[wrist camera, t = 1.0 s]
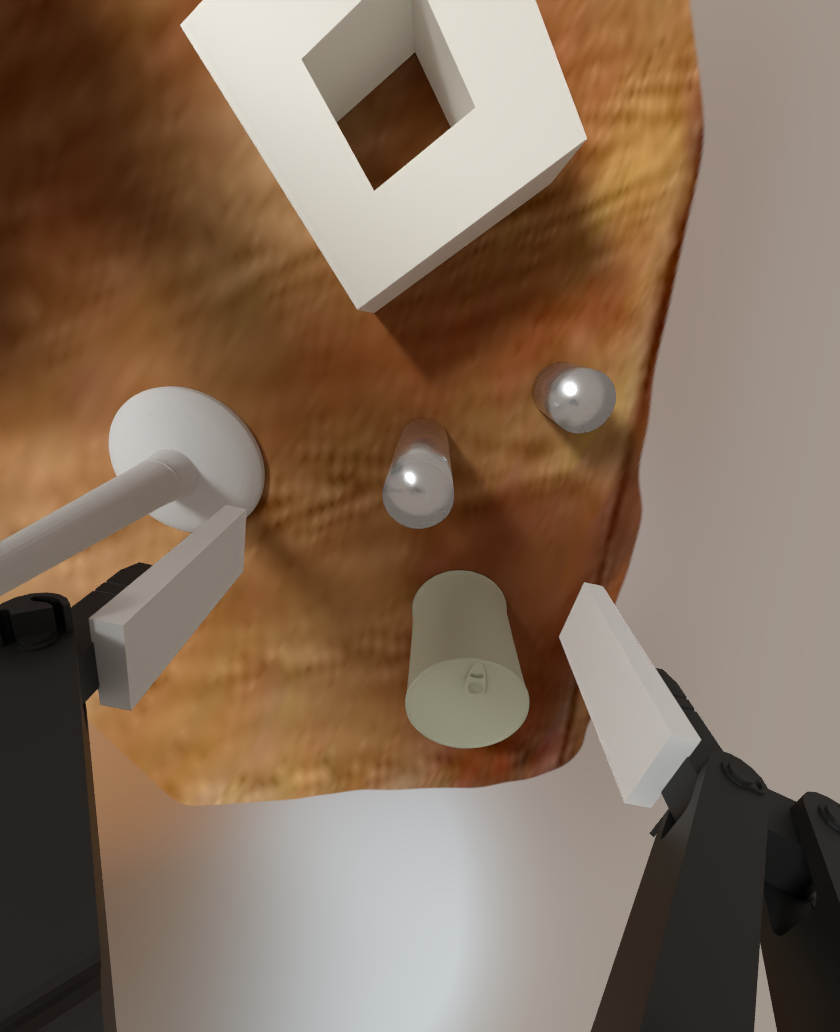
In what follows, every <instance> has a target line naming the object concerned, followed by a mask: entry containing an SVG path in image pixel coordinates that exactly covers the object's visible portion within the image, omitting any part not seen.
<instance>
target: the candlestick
mask: <svg viewBox="0 0 840 1032" xmlns="http://www.w3.org/2000/svg"><path fill="white" fill-rule="evenodd" d="M109 453H110V458H111V462H112V466H113V468H114V471H115V474H116V476H117V477H115V478H113V479H112V480H110V481H108V482H106V483H104V484H103V485H101V486H99V487H97V488H95V489H94V490H92V491H90V492H88V493H86V494H85V495H83V496H81V497H79V498H78V499H76V500H74V501H72V502H70V503H69V504H67V505H65V506H63V507H61V508H60V509H58V510H56V511H54V512H52V513H51V514H49V515H47V516H45V517H44V518H42V519H40V520H38V521H36V522H35V523H33V524H31V525H29V526H27V527H26V528H24V529H22V530H20V531H18V532H17V533H15V534H13V535H11V536H9V537H8V538H6V539H4V540H2V541H1V542H0V596H1V595H3V594H5V593H7V592H9V591H10V590H12V589H14V588H16V587H18V586H19V585H21V584H23V583H25V582H27V581H28V580H30V579H32V578H34V577H36V576H37V575H39V574H41V573H43V572H45V571H47V570H48V569H50V568H52V567H54V566H56V565H57V564H59V563H61V562H63V561H65V560H66V559H68V558H70V557H72V556H74V555H75V554H77V553H79V552H81V551H83V550H84V549H86V548H88V547H90V546H92V545H93V544H95V543H97V542H99V541H101V540H102V539H104V538H106V537H108V536H110V535H111V534H113V533H115V532H117V531H119V530H121V529H122V528H124V527H126V526H128V525H130V524H131V523H133V522H135V521H137V520H139V519H140V518H142V517H144V516H146V515H148V514H149V515H150V516H152V517H153V518H155V519H156V520H158V521H160V522H162V523H164V524H166V525H168V526H170V527H173V528H175V529H178V530H181V531H186V532H191V533H192V532H194V531H195V530H196V529H197V528H199V527H200V526H201V525H202V524H203V523H205V522H206V521H207V520H208V519H209V518H211V517H212V516H213V515H214V514H215V513H217V512H218V511H219V510H220V509H221V508H223V507H224V506H225V505H229V506H234V507H239V508H243V509H247V512H246V518H247V517H248V516H249V515H250V514H251V512H252V511H253V510H254V509H255V507H256V506H257V504H258V502H259V500H260V498H261V495H262V492H263V488H264V482H265V470H264V462H263V458H262V455H261V451H260V449H259V446H258V444H257V442H256V440H255V438H254V436H253V434H252V433H251V431H250V430H249V428H248V427H247V426H246V424H245V423H244V422H243V421H242V420H241V419H240V417H239V416H238V415H237V414H235V413H234V412H233V411H232V410H231V409H230V408H229V407H227V406H226V405H225V404H223V403H222V402H220V401H219V400H217V399H215V398H213V397H212V396H210V395H207V394H205V393H203V392H200V391H197V390H194V389H190V388H186V387H178V386H165V387H158V388H153V389H149V390H146V391H143V392H141V393H139V394H137V395H135V396H133V397H132V398H130V399H129V400H128V401H127V402H126V403H125V404H124V405H123V406H122V407H121V408H120V409H119V411H118V412H117V414H116V416H115V418H114V420H113V422H112V425H111V428H110V434H109Z"/></svg>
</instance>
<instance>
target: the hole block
mask: <svg viewBox="0 0 840 1032" xmlns="http://www.w3.org/2000/svg"><path fill="white" fill-rule="evenodd" d="M180 26H181V28H182V29H183V31H184V32H185V34H186V36H187V37H188V39H189V40H190V42H191V44H192V45H193V47H194V48H195V50H196V52H197V53H198V55H199V56H200V58H201V60H202V61H203V63H204V64H205V66H206V68H207V69H208V71H209V72H210V74H211V76H212V77H213V79H214V80H215V82H216V84H217V85H218V87H219V89H220V90H221V92H222V93H223V95H224V97H225V98H226V100H227V101H228V103H229V105H230V106H231V108H232V109H233V111H234V113H235V114H236V116H237V117H238V119H239V121H240V122H241V124H242V125H243V127H244V129H245V130H246V132H247V133H248V135H249V137H250V138H251V140H252V141H253V143H254V145H255V146H256V148H257V149H258V151H259V153H260V154H261V156H262V157H263V159H264V161H265V162H266V164H267V166H268V167H269V169H270V170H271V172H272V174H273V175H274V177H275V178H276V180H277V182H278V183H279V185H280V186H281V188H282V190H283V191H284V193H285V194H286V196H287V198H288V199H289V201H290V202H291V204H292V206H293V207H294V209H295V210H296V212H297V214H298V215H299V217H300V218H301V220H302V222H303V223H304V225H305V226H306V228H307V230H308V231H309V233H310V235H311V236H312V238H313V239H314V241H315V243H316V244H317V246H318V247H319V249H320V251H321V252H322V254H323V255H324V257H325V259H326V260H327V262H328V263H329V265H330V267H331V268H332V270H333V271H334V273H335V275H336V276H337V278H338V279H339V281H340V283H341V284H342V286H343V287H344V289H345V291H346V292H347V294H348V295H349V297H350V299H351V300H352V302H353V304H354V305H355V307H356V308H357V310H361V311H366V312H370V313H375V312H376V311H378V310H379V309H380V308H382V307H383V306H385V305H386V304H387V303H389V302H390V301H391V300H393V299H394V298H395V297H397V296H398V295H400V294H401V293H402V292H404V291H405V290H406V289H408V288H409V287H411V286H412V285H413V284H415V283H416V282H417V281H419V280H420V279H421V278H423V277H424V276H426V275H427V274H428V273H430V272H431V271H432V270H434V269H435V268H436V267H438V266H439V265H441V264H442V263H443V262H445V261H446V260H447V259H449V258H450V257H451V256H453V255H454V254H456V253H457V252H458V251H460V250H461V249H462V248H464V247H465V246H466V245H468V244H469V243H471V242H472V241H473V240H475V239H476V238H477V237H479V236H480V235H481V234H483V233H484V232H486V231H487V230H488V229H490V228H491V227H492V226H494V225H495V224H496V223H498V222H499V221H501V220H502V219H503V218H505V217H506V216H507V215H509V214H510V213H511V212H513V211H514V210H516V209H517V208H518V207H520V206H521V205H522V204H524V203H525V202H527V201H528V200H529V199H531V198H532V197H533V196H535V195H536V194H537V193H539V192H540V191H542V190H543V189H544V188H546V187H547V186H548V185H550V184H551V183H552V182H553V181H554V179H555V178H556V177H557V176H558V174H559V173H560V172H561V171H562V169H563V168H564V167H565V166H566V164H567V163H568V162H569V161H570V159H571V158H572V157H573V156H574V154H575V153H576V152H577V151H578V149H579V148H580V147H581V146H582V144H583V143H584V142H585V141H586V139H587V137H586V134H585V132H584V129H583V126H582V124H581V121H580V118H579V116H578V113H577V110H576V108H575V105H574V102H573V100H572V97H571V94H570V92H569V89H568V86H567V84H566V81H565V78H564V76H563V73H562V70H561V68H560V65H559V62H558V59H557V57H556V54H555V51H554V49H553V46H552V43H551V41H550V38H549V35H548V33H547V30H546V27H545V25H544V22H543V19H542V17H541V14H540V11H539V9H538V6H537V3H536V1H535V0H203V1H202V2H201V3H200V4H199V5H198V6H197V7H196V8H195V9H194V11H193V12H192V13H191V14H190V15H189V16H188V17H187V18H186V19H185V20H184V22H183V23H182V24H181V25H180ZM414 53H416V55H417V57H418V59H419V61H420V64H421V66H422V68H423V70H424V72H425V74H426V76H427V78H428V81H429V83H430V85H431V87H432V89H433V91H434V93H435V95H436V98H437V100H438V102H439V104H440V106H441V108H442V110H443V112H444V115H445V117H446V119H447V121H448V123H449V125H450V127H451V128H450V129H449V130H448V131H446V132H445V133H444V134H443V135H442V136H440V137H439V138H438V139H437V140H435V141H434V142H433V143H432V144H431V145H429V146H428V147H427V148H426V149H425V150H423V151H422V152H421V153H420V154H418V155H417V156H416V157H415V158H414V159H412V160H411V161H410V162H409V163H408V164H406V165H405V166H404V167H403V168H401V169H400V170H399V171H398V172H397V173H395V174H394V175H393V176H392V177H391V178H389V179H388V180H387V181H386V182H384V183H383V184H382V185H381V186H380V187H378V188H377V189H376V190H375V191H374V190H373V188H372V186H371V184H370V182H369V181H368V179H367V177H366V175H365V173H364V171H363V170H362V168H361V166H360V164H359V162H358V161H357V159H356V157H355V155H354V153H353V152H352V150H351V148H350V146H349V144H348V143H347V141H346V139H345V137H344V135H343V134H342V132H341V130H340V128H339V126H338V124H337V122H338V121H339V120H340V119H341V118H343V117H344V116H345V115H346V114H347V113H348V112H349V111H350V110H351V109H353V108H354V107H355V106H356V105H357V104H358V103H359V102H360V101H361V100H363V99H364V98H365V97H366V96H367V95H368V94H369V93H370V92H371V91H373V90H374V89H375V88H376V87H377V86H378V85H379V84H380V83H382V82H383V81H384V80H385V79H386V78H387V77H388V76H389V75H390V74H392V73H393V72H394V71H395V70H396V69H397V68H398V67H399V66H400V65H402V64H403V63H404V62H405V61H406V60H407V59H408V58H409V57H410V56H412V55H413V54H414Z"/></svg>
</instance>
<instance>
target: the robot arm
mask: <svg viewBox="0 0 840 1032" xmlns="http://www.w3.org/2000/svg"><path fill="white" fill-rule="evenodd" d="M246 512H247V509H243V508H239V507H234V506H229V505H225V506H224V507H223V508H221V509H220V510H219V511H218V512H217V513H215V514H214V515H213V516H212V517H211V518H209V519H208V520H207V521H206V522H205V523H203V524H202V525H201V526H200V527H199V528H197V529H196V530H195V531H194V532H192V533H191V534H190V535H189V536H188V537H186V538H185V539H184V540H183V541H182V542H180V543H179V544H178V545H177V546H176V547H174V548H173V549H172V550H171V551H170V552H168V553H167V554H166V555H165V556H164V557H162V558H161V559H160V560H159V561H158V562H156V563H155V564H154V565H149V564H144V563H140V562H139V563H137V564H134V565H132V566H129V567H127V568H124V569H122V570H120V571H119V572H117V573H116V574H115V575H113V576H112V577H111V578H109V579H108V580H107V582H106V583H103V584H101V585H100V586H99V587H98V588H96V590H95V591H92V592H91V593H90V594H88V595H87V596H86V597H84V598H83V599H82V600H80V601H79V602H78V603H76V604H75V605H74V606H73V607H70V603H69V601H68V599H67V598H66V597H64V596H61V595H59V594H54V593H33V594H28V595H24V596H20V597H16V598H13V599H11V600H9V601H6V602H4V603H2V604H1V605H0V1032H117V1029H116V1019H115V1008H114V997H113V987H112V976H111V966H110V955H109V945H108V933H107V923H106V912H105V901H104V891H103V880H102V869H101V859H100V848H99V837H98V827H97V816H96V805H95V795H94V784H93V773H92V762H91V752H90V741H89V731H88V720H87V709H86V703H85V702H86V701H87V700H88V699H89V697H90V696H91V695H92V694H93V693H94V692H95V691H96V690H97V689H98V692H99V699H100V705H104V706H109V707H114V708H120V709H125V710H130V711H131V710H132V709H133V708H134V706H135V705H136V704H137V703H138V701H139V700H140V699H141V698H142V696H143V695H144V694H145V693H146V691H147V690H148V689H149V688H150V687H151V685H152V684H153V683H154V682H155V680H156V679H157V678H158V677H159V675H160V674H161V673H162V672H163V670H164V669H165V668H166V667H167V665H168V664H169V663H170V662H171V660H172V659H173V658H174V657H175V655H176V654H177V653H178V652H179V650H180V649H181V648H182V647H183V645H184V644H185V643H186V642H187V640H188V639H189V638H190V637H191V636H192V634H193V633H194V632H195V631H196V629H197V628H198V627H199V626H200V624H201V623H202V622H203V621H204V619H205V618H206V617H207V616H208V614H209V613H210V612H211V611H212V609H213V608H214V607H215V606H216V604H217V603H218V602H219V601H220V599H221V598H222V597H223V596H224V594H225V593H226V592H227V591H228V589H229V588H230V587H231V586H232V585H233V583H234V582H235V581H236V580H237V578H238V577H239V576H240V575H241V573H242V572H243V567H244V549H245V530H246ZM559 638H560V641H561V643H562V646H563V648H564V651H565V654H566V656H567V659H568V661H569V664H570V666H571V669H572V671H573V674H574V676H575V679H576V682H577V684H578V687H579V689H580V692H581V694H582V697H583V699H584V702H585V704H586V707H587V709H588V712H589V715H590V717H591V720H592V722H593V725H594V727H595V730H596V732H597V735H598V737H599V740H600V743H601V745H602V748H603V750H604V753H605V755H606V758H607V760H608V763H609V765H610V768H611V770H612V773H613V776H614V778H615V781H616V783H617V786H618V788H619V791H620V793H621V796H622V798H623V801H624V803H627V804H634V805H639V806H644V807H649V808H651V807H652V806H653V804H654V803H655V802H656V800H657V799H658V798H659V796H660V795H661V794H662V795H663V797H664V799H665V801H666V803H667V805H668V808H669V809H668V810H667V812H666V813H665V814H664V816H663V817H662V818H661V819H660V821H659V822H658V823H657V824H656V826H655V827H654V829H653V830H652V831H651V832H650V834H651V835H652V836H653V837H654V836H655V835H656V834H657V835H656V838H655V841H654V844H653V847H652V850H651V853H650V856H649V859H648V862H647V865H646V868H645V871H644V874H643V877H642V880H641V883H640V886H639V889H638V892H637V895H636V898H635V901H634V904H633V907H632V910H631V913H630V916H629V919H628V922H627V925H626V928H625V931H624V934H623V937H622V940H621V943H620V946H619V949H618V952H617V955H616V958H615V961H614V964H613V967H612V970H611V973H610V976H609V979H608V982H607V985H606V988H605V991H604V994H603V997H602V1000H601V1003H600V1006H599V1008H598V1012H597V1015H596V1018H595V1021H594V1023H593V1026H592V1029H591V1032H754V1021H755V1007H756V992H757V978H758V963H759V948H760V944H761V949H762V954H763V959H764V964H765V970H766V975H767V980H768V986H769V991H770V996H771V1001H772V1007H773V1012H774V1017H775V1022H776V1027H777V1032H840V804H838V803H837V802H835V801H833V800H832V799H830V798H828V797H826V796H824V795H821V794H819V793H817V792H806V793H805V794H804V795H803V796H802V797H801V798H800V799H799V800H798V801H797V802H796V801H793V800H791V799H789V798H787V797H785V796H782V795H780V794H778V793H776V792H774V791H772V790H769V789H768V788H767V786H766V785H765V783H764V781H763V780H762V778H761V777H760V776H759V775H758V774H757V773H756V772H755V771H754V770H753V769H752V768H751V767H750V766H748V765H747V764H746V763H744V762H743V761H742V760H741V759H739V758H737V757H735V756H733V755H731V754H729V753H726V752H723V750H722V749H721V748H720V746H719V745H718V743H717V742H716V740H715V739H714V737H713V736H712V734H711V733H710V731H709V730H708V728H707V727H706V725H705V724H704V722H703V721H702V720H701V718H700V716H699V715H698V714H697V712H695V711H694V708H693V706H692V705H691V703H690V702H689V700H687V699H686V696H685V694H684V693H683V691H682V690H681V689H680V687H679V685H678V684H677V683H676V682H675V681H674V680H673V679H672V678H671V677H670V676H669V675H668V674H667V673H666V672H665V671H664V670H662V669H658V668H655V667H654V665H653V664H652V662H651V661H650V659H649V657H648V656H647V655H646V653H645V651H644V650H643V648H642V647H641V645H640V643H639V642H638V640H637V639H636V637H635V636H634V634H633V632H632V631H631V629H630V628H629V626H628V625H627V623H626V622H625V620H624V619H623V617H622V615H621V614H620V612H619V611H618V609H617V608H616V606H615V604H614V603H613V601H612V600H611V598H610V597H609V595H608V593H607V592H606V590H605V589H604V587H603V586H599V585H594V584H590V583H585V582H584V584H583V586H582V588H581V590H580V592H579V595H578V597H577V599H576V601H575V603H574V605H573V607H572V610H571V612H570V614H569V616H568V618H567V620H566V623H565V625H564V627H563V629H562V631H561V633H560V636H559Z"/></svg>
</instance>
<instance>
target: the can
mask: <svg viewBox="0 0 840 1032" xmlns="http://www.w3.org/2000/svg"><path fill="white" fill-rule="evenodd" d="M412 614H413V629H412V641H411V654H410V665H409V676H408V686H407V692H406V696H405V708H406V713H407V716H408V718H409V720H410V722H411V723H412V725H413V726H414V727H415V728H416V729H417V730H418V731H419V732H420V733H421V734H422V735H424V736H425V737H427V738H428V739H430V740H432V741H434V742H437V743H439V744H442V745H445V746H450V747H455V748H479V747H484V746H489V745H492V744H495V743H497V742H500V741H502V740H504V739H506V738H507V737H509V736H510V735H512V734H513V733H514V732H515V731H517V730H518V729H519V727H520V726H521V725H522V724H523V722H524V721H525V719H526V717H527V714H528V711H529V695H528V691H527V688H526V686H525V683H524V679H523V676H522V672H521V669H520V665H519V661H518V657H517V653H516V649H515V645H514V641H513V637H512V633H511V629H510V624H509V620H508V616H507V606H506V600H505V597H504V595H503V593H502V591H501V590H500V588H499V587H498V586H497V585H496V584H495V583H494V582H493V581H492V580H490V579H489V578H487V577H485V576H484V575H481V574H479V573H476V572H472V571H465V570H454V571H448V572H444V573H441V574H438V575H436V576H434V577H432V578H431V579H429V580H428V581H427V582H425V583H424V584H423V585H422V586H421V587H420V589H419V590H418V592H417V593H416V595H415V598H414V601H413V605H412Z"/></svg>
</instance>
